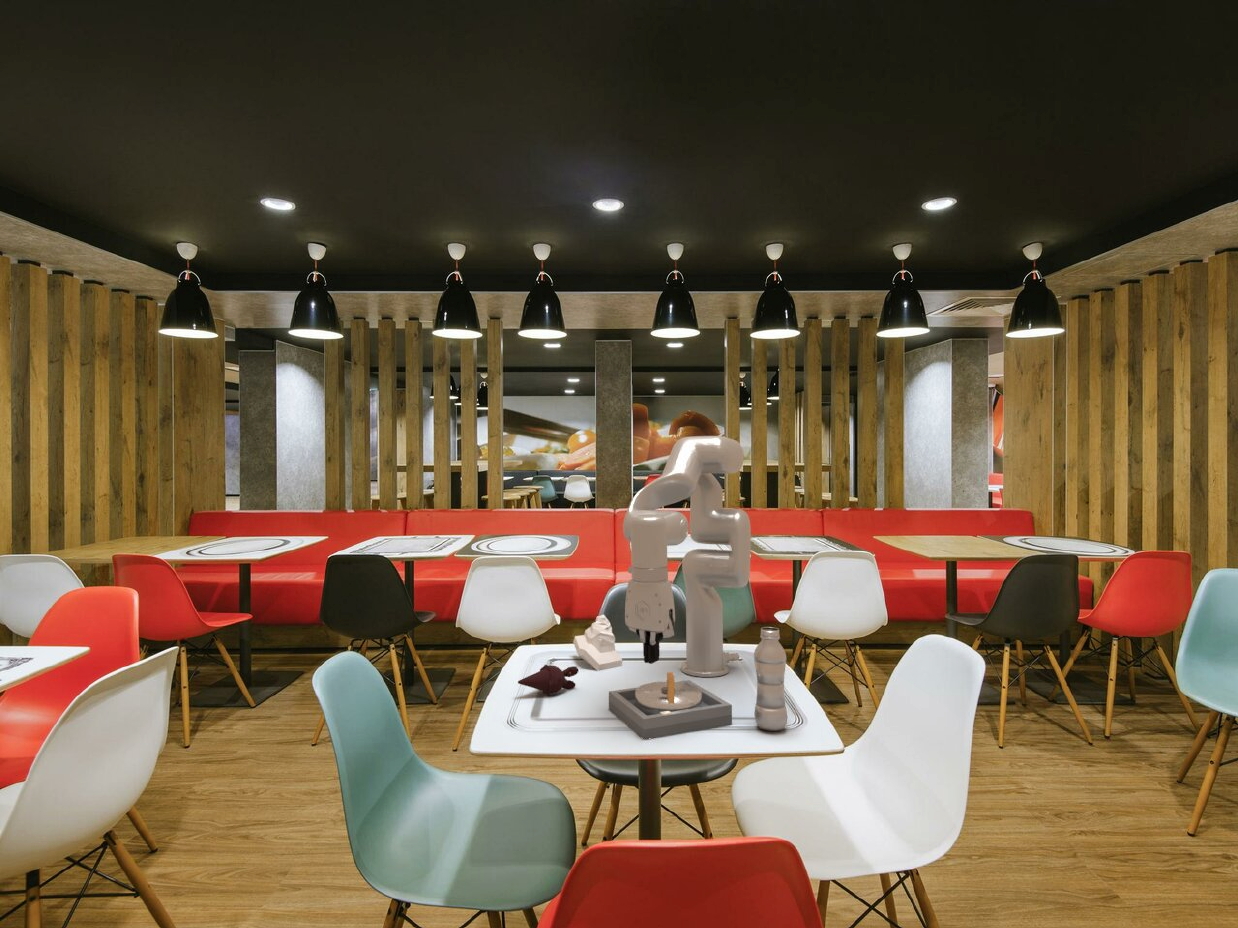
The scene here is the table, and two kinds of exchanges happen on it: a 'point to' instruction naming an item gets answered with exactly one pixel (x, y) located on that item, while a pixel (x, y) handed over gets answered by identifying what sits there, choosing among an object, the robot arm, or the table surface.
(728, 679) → the table surface
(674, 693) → the dial
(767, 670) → the plastic bottle
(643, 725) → the tray
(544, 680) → the icecream
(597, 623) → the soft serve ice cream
